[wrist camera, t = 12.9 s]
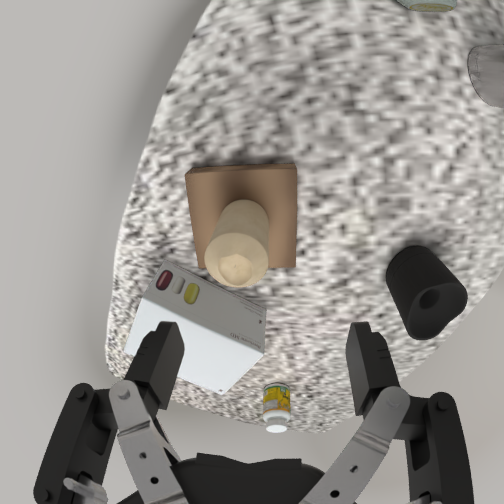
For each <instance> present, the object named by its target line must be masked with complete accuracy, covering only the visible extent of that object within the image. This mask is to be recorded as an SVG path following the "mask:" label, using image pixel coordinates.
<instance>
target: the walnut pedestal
mask: <svg viewBox="0 0 504 504" xmlns="http://www.w3.org/2000/svg"><path fill="white" fill-rule="evenodd" d="M185 181H186V189H187V196H188V203H189V210H190V217H191V224H192V230H193V236H194V243H195V249H196V255H197V261H198V266H199V268H206V265H205V260H204V256H205V251H206V248H207V246H208V244H209V241H210V239H211V236H212V234H213V232H214V229H215V227H216V225H217V222H218V220H219V218H220V215H221V213H222V211H223V210H224V209H225V207H226V206H228V205H229V204H230V203H232V202H234V201H237V200H244V199H245V200H251V201H254V202H256V203H258V204H259V205H260V206H261V207H262V208H263V209H264V210H265V212H266V214H267V216H268V219H269V263H268V268H280V267H296V234H297V168H296V166H295V164H252V165H231V166H215V167H201V168H192V169H190V170H189V171H188V172H187V173H186V174H185Z"/></svg>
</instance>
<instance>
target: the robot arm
mask: <svg viewBox="0 0 504 504" xmlns="http://www.w3.org/2000/svg"><path fill="white" fill-rule="evenodd" d="M468 68H469V74H470V78H471V81H472V83H473V86H474V88H475V90H476V92H477V93H478V95H479V96H480V97H481V98H482V99H483V101H484V102H486V103H487V104H489V105H491V106H494V107H500V108H504V44H499V45H487V46H478V47H475V48H473V50H472V51H471V52H470V55H469V59H468ZM184 351H185V346H184V342H183V339H182V336H181V333H180V330H179V327H178V324H177V323H176V322H170V321H160V322H159V324H158V326H157V328H156V330H155V331H150V332H149V333H148V334H147V335H146V336H145V337H144V338H143V340H142V342H141V344H140V346H139V348H138V350H137V352H136V355H135V357H134V359H133V361H132V363H131V365H130V367H129V370H128V372H127V374H126V376H125V378H124V380H121V381H118V382H117V383H115V384H114V385H113V386H112V387H111V388H110V389H100V390H94V389H93V388H92V386H91V385H89V384H87V383H80V384H77V385H76V386H74V387H73V388H72V390H71V391H70V393H69V396H68V398H67V400H66V402H65V405H64V407H63V409H62V412H61V414H60V416H59V419H58V421H57V424H56V426H55V429H54V431H53V434H52V436H51V439H50V442H49V444H48V447H47V450H46V452H45V455H44V458H43V461H42V464H41V467H40V470H39V473H38V476H37V479H36V483H35V486H34V490H33V491H34V492H33V494H34V498H35V501H36V502H37V504H107V502H108V498H107V494H106V491H105V490H104V488H103V487H102V483H103V479H104V475H105V471H106V468H107V464H108V460H109V457H110V453H111V450H112V446H113V443H114V439H115V436H116V433H117V429H119V431H120V433H119V434H118V435H117V437H118V441H119V444H120V446H121V449H122V452H123V455H124V458H125V460H126V463H127V465H128V468H129V470H130V472H131V475H132V477H133V480H134V482H135V484H136V486H137V488H138V490H137V491H136V492H135V493H133V494H131V495H130V496H128V497H127V498H125V499H124V500H122V501H121V502H119V503H117V504H357V503H356V502H355V500H356V499H357V498H358V496H359V495H360V493H361V492H362V491H363V489H364V488H365V487H366V485H367V484H368V482H369V481H370V479H371V478H372V476H373V474H374V473H375V472H376V470H377V469H378V467H379V465H380V464H381V462H382V460H383V459H384V457H385V456H386V454H387V452H388V450H389V445H390V443H391V441H392V439H399V440H405V447H406V455H407V464H408V476H409V490H410V502H409V503H408V504H474V495H473V486H472V479H471V471H470V465H469V459H468V454H467V448H466V444H465V439H464V434H463V430H462V426H461V422H460V418H459V414H458V410H457V407H456V403H455V401H454V399H453V397H452V396H451V395H449V394H448V393H445V392H438V393H435V394H433V395H432V396H431V397H430V398H420V397H413V396H410V395H409V394H408V393H407V392H406V391H405V390H404V389H402V388H401V387H400V385H399V381H398V378H397V374H396V371H395V368H394V364H393V361H392V358H391V355H390V352H389V351H388V346H387V343H386V340H385V339H384V337H383V336H382V335H381V334H380V333H379V332H372V331H371V328H370V325H369V323H368V322H352V323H351V326H350V330H349V335H348V339H347V343H346V360H347V365H348V370H349V376H350V382H351V388H352V394H353V400H354V407H355V414H356V416H359V415H363V418H364V421H363V423H362V424H361V426H360V427H359V429H358V430H357V432H356V433H355V434H354V436H353V437H352V439H351V440H350V442H349V443H348V444H347V446H346V447H345V448H344V450H343V451H342V453H341V454H340V455H339V457H338V458H337V459H336V461H335V462H334V463H333V464H332V466H331V467H330V468H329V469H328V471H327V472H326V473H324V472H323V471H321V470H320V469H318V468H315V467H313V466H310V465H307V464H302V463H301V459H273V460H267V461H262V462H257V463H251V464H247V463H243V462H239V461H236V460H233V459H230V458H227V457H224V456H218V455H211V454H203V453H197V457H196V458H191V459H186V460H183V461H181V460H180V457H179V456H178V454H177V453H176V452H175V450H174V448H173V447H172V445H171V443H170V442H169V439H168V437H167V435H166V433H165V431H164V429H163V427H162V425H161V423H160V421H159V418H158V416H157V412H158V409H164V410H166V409H167V407H168V403H169V400H170V397H171V394H172V390H173V387H174V384H175V381H176V378H177V375H178V372H179V369H180V365H181V362H182V359H183V356H184Z"/></svg>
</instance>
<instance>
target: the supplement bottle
mask: <svg viewBox="0 0 504 504" xmlns="http://www.w3.org/2000/svg"><path fill="white" fill-rule="evenodd" d="M290 416H291V414H290V389H289V387H288V386H286V385H284V384H280V383H274V384H270V385H268V386H266V387H265V389H264V396H263V419H264V420H265V421H266V422H267V423H266V430H267V431H269V432H275V433H277V432H284V431H286V430H287V421H288V420H289V419H290Z"/></svg>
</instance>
